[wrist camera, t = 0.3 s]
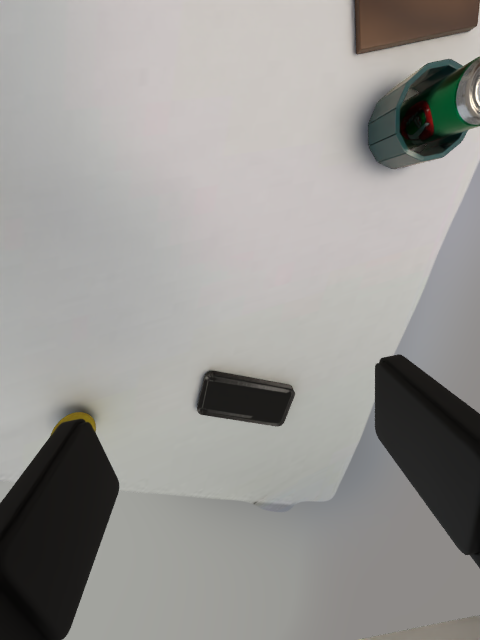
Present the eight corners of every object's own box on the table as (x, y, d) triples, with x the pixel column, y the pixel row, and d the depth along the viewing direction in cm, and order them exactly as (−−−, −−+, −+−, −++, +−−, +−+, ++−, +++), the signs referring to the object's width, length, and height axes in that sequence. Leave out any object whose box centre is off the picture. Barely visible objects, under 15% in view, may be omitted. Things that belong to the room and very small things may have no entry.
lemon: (100, 432, 46) (78, 474, 39) (65, 425, 45) (35, 467, 38) (105, 405, 44) (83, 444, 37) (69, 398, 43) (38, 436, 36)
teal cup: (367, 92, 32) (396, 69, 27) (439, 77, 32) (481, 51, 27) (368, 174, 35) (394, 167, 30) (434, 160, 35) (471, 151, 30)
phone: (205, 373, 42) (296, 390, 45) (206, 369, 43) (295, 386, 46) (195, 414, 45) (282, 427, 47) (196, 409, 46) (280, 423, 48)
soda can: (428, 107, 33) (537, 52, 22) (414, 155, 35) (507, 127, 24) (390, 99, 32) (481, 38, 21) (376, 148, 34) (455, 116, 23)
